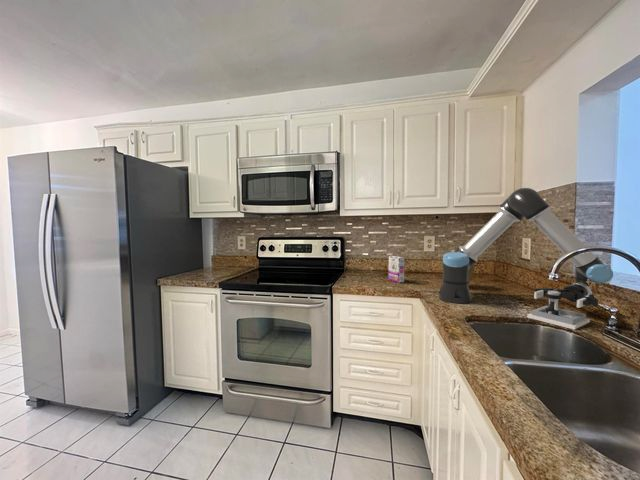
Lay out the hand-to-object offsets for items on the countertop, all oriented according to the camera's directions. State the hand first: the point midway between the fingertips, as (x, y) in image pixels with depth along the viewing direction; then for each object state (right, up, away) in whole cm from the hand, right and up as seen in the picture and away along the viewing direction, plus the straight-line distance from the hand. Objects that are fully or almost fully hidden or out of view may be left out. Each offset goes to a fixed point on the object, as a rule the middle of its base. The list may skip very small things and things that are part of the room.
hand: (555, 299), depth 108 cm
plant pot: (-8, -5, +58) cm, 59 cm away
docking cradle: (+3, -9, +2) cm, 9 cm away
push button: (+1, -7, +3) cm, 8 cm away
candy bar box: (-42, -4, +74) cm, 85 cm away
